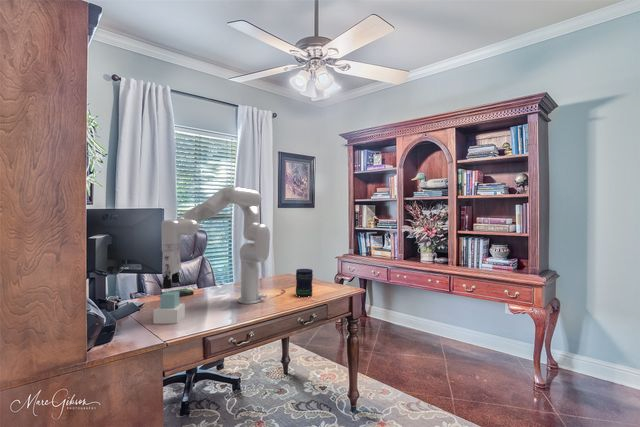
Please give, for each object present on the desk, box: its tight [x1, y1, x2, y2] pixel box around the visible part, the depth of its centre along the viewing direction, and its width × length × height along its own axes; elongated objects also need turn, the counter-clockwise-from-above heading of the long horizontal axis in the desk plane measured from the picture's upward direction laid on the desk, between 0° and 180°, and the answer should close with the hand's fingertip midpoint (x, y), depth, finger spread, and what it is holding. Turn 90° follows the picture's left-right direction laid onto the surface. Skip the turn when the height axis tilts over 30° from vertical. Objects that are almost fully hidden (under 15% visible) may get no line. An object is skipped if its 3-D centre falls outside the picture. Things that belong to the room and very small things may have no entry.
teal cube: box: [159, 290, 180, 308], centre depth 150 cm, size 6×6×6 cm
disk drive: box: [160, 288, 194, 298], centre depth 192 cm, size 10×3×15 cm
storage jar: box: [295, 268, 314, 298], centre depth 197 cm, size 10×10×15 cm
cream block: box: [152, 302, 186, 325], centre depth 150 cm, size 10×10×6 cm
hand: (171, 285), depth 150 cm, fingers open, 9 cm apart
